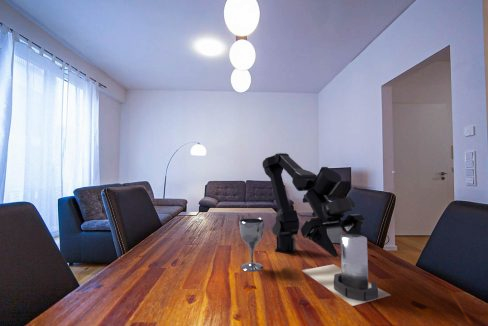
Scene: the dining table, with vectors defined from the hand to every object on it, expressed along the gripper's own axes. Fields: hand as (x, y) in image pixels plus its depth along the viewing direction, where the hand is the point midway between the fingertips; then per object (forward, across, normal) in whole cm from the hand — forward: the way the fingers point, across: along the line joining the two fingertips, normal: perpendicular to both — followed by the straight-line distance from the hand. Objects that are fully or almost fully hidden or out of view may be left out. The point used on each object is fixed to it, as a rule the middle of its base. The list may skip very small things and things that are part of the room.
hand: (350, 254), depth 57 cm
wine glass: (-10, -18, +23) cm, 31 cm away
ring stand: (+4, 0, +9) cm, 10 cm away
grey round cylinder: (+7, 0, +5) cm, 8 cm away
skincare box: (-18, +26, +32) cm, 45 cm away
